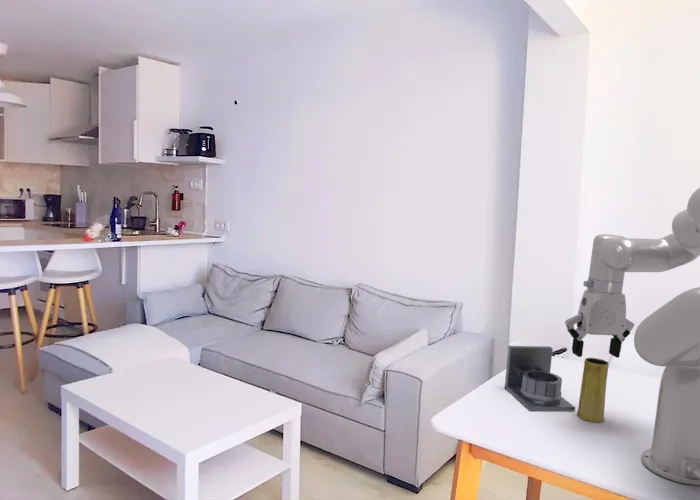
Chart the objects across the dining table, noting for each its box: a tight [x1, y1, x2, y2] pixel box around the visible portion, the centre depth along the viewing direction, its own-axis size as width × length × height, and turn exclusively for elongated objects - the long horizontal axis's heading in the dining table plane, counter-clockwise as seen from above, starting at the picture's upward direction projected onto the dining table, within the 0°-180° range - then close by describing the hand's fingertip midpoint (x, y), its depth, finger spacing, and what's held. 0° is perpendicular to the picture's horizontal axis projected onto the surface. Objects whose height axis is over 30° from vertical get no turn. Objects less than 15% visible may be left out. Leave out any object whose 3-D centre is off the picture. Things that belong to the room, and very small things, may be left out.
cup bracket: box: [504, 345, 576, 412], centre depth 140 cm, size 15×12×12 cm
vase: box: [576, 357, 610, 423], centre depth 130 cm, size 6×6×14 cm
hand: (595, 355), depth 129 cm, fingers open, 9 cm apart
